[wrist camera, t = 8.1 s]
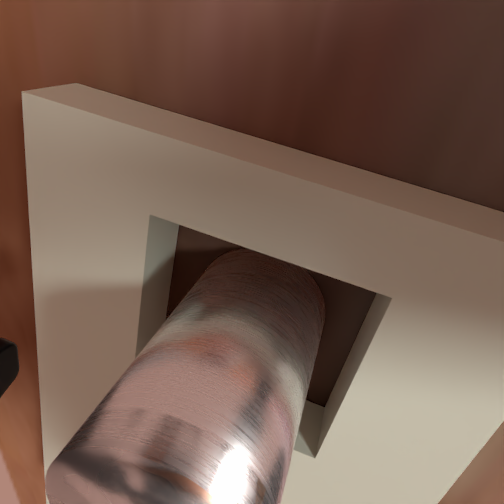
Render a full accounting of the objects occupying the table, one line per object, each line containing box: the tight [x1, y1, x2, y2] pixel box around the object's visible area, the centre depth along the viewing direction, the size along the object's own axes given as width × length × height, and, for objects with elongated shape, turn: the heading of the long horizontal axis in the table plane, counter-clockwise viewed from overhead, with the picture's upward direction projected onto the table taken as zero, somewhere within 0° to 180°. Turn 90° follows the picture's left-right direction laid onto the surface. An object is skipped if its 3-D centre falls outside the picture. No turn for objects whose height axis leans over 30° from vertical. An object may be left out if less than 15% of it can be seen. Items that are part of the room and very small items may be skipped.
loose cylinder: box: [45, 248, 326, 504], centre depth 10 cm, size 4×4×7 cm
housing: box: [22, 83, 504, 504], centre depth 14 cm, size 13×18×2 cm
